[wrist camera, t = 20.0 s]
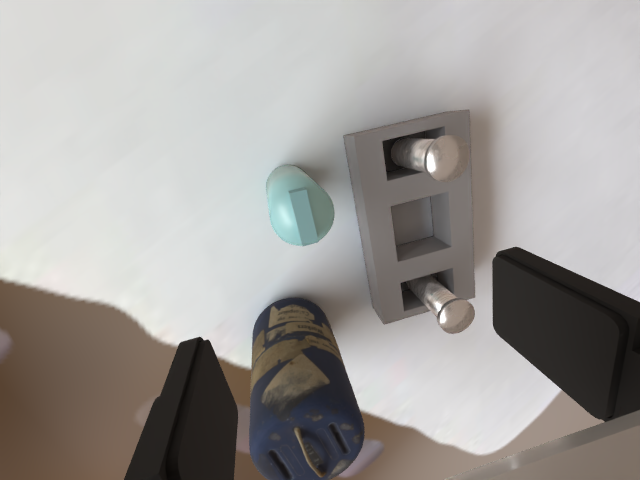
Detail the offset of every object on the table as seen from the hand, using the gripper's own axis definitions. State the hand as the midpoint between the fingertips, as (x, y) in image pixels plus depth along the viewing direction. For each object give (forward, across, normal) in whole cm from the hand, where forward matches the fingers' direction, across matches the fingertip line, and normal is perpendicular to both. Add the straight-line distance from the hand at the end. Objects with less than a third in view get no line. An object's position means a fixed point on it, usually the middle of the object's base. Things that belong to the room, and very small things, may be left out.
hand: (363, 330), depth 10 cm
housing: (+26, -13, +7) cm, 30 cm away
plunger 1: (+25, -13, -1) cm, 28 cm away
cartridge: (+26, 0, 0) cm, 26 cm away
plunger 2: (+25, -13, +15) cm, 32 cm away
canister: (+26, +4, +17) cm, 32 cm away
